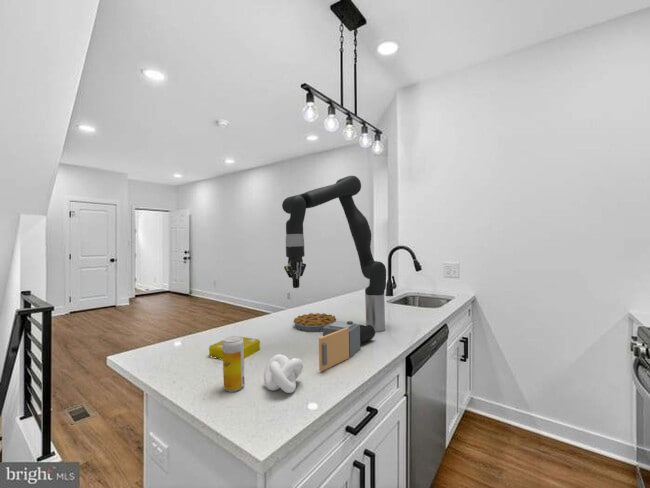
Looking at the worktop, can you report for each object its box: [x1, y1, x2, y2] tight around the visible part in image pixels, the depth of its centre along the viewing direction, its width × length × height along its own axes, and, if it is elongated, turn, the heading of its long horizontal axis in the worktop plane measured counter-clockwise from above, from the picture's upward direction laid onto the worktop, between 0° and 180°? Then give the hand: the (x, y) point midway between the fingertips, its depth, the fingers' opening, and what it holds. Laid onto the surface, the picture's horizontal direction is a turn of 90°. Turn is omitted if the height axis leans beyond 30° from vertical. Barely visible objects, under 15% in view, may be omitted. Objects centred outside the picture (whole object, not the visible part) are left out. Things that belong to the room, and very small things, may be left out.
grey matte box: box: [322, 320, 361, 359], centre depth 121 cm, size 10×12×11 cm
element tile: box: [208, 336, 261, 360], centre depth 122 cm, size 15×15×5 cm
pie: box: [293, 312, 337, 332], centre depth 157 cm, size 22×22×5 cm
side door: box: [318, 328, 350, 372], centre depth 107 cm, size 2×16×11 cm, turn 138°
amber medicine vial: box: [222, 335, 246, 393], centre depth 93 cm, size 6×6×15 cm
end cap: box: [360, 324, 376, 345], centre depth 131 cm, size 10×7×7 cm
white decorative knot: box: [263, 354, 304, 394], centre depth 91 cm, size 11×12×9 cm
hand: (296, 287), depth 125 cm, fingers closed
